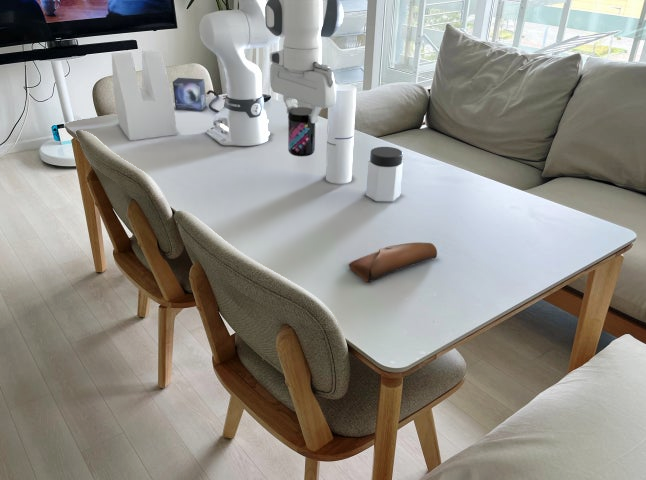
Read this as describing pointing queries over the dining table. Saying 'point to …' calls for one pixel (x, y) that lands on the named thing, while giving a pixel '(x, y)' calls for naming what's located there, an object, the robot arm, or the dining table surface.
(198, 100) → the small box
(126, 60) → the white notched block
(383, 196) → the jar
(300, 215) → the dining table surface
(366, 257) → the sunglasses case
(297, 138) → the supplement container
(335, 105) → the cylindrical container
